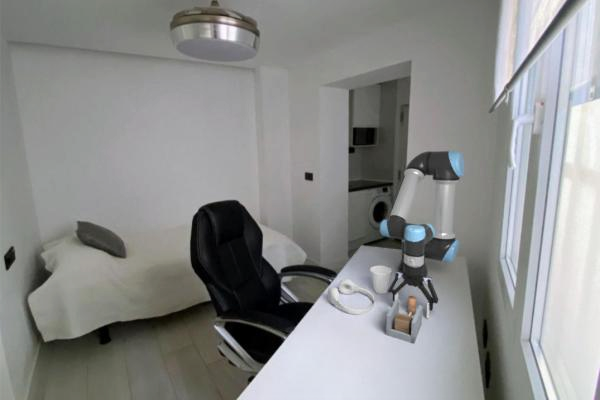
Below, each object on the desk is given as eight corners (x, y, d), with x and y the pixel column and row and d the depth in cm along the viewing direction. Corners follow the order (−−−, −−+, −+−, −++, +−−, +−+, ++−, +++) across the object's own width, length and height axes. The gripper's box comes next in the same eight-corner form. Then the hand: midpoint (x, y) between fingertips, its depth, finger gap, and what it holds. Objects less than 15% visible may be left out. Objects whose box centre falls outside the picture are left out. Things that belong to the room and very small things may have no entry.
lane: (395, 317, 122) (396, 299, 121) (421, 324, 117) (422, 305, 115) (386, 334, 111) (386, 315, 110) (414, 343, 106) (415, 323, 105)
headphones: (322, 288, 133) (360, 310, 120) (345, 274, 146) (382, 292, 133) (320, 302, 135) (358, 325, 122) (344, 286, 148) (380, 306, 135)
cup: (392, 297, 138) (392, 274, 136) (370, 295, 140) (370, 273, 138) (390, 286, 147) (390, 265, 145) (369, 285, 149) (369, 264, 147)
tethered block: (406, 309, 127) (406, 294, 126) (418, 313, 125) (419, 297, 123) (394, 334, 112) (395, 317, 110) (408, 338, 109) (409, 321, 108)
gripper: (380, 261, 124) (380, 309, 128) (445, 273, 111) (442, 325, 115) (386, 255, 130) (385, 300, 134) (448, 266, 117) (445, 315, 121)
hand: (411, 312), depth 124 cm, fingers open, 12 cm apart
